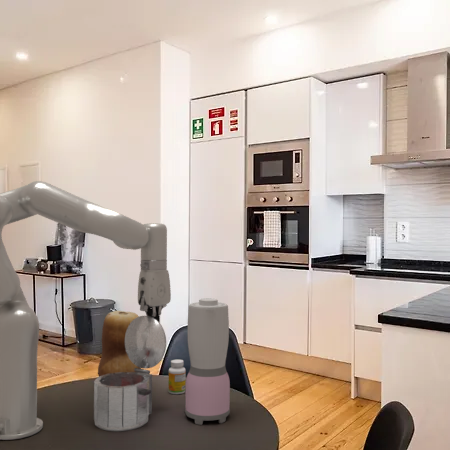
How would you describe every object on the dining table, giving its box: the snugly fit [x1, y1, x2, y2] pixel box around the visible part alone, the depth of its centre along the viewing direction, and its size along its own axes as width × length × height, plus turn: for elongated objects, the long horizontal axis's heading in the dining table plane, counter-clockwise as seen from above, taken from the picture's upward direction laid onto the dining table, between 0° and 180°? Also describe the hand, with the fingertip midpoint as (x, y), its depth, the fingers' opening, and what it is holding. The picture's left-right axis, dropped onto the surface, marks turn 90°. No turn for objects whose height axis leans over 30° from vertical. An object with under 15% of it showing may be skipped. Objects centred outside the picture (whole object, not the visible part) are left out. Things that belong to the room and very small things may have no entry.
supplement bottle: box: [167, 359, 187, 395], centre depth 157 cm, size 5×5×10 cm
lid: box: [125, 315, 167, 374], centre depth 141 cm, size 16×15×2 cm
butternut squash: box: [97, 310, 142, 377], centre depth 158 cm, size 14×13×25 cm
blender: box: [184, 298, 231, 426], centre depth 138 cm, size 16×12×32 cm
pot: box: [93, 372, 153, 432], centre depth 134 cm, size 16×18×11 cm
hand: (153, 329), depth 144 cm, fingers closed
